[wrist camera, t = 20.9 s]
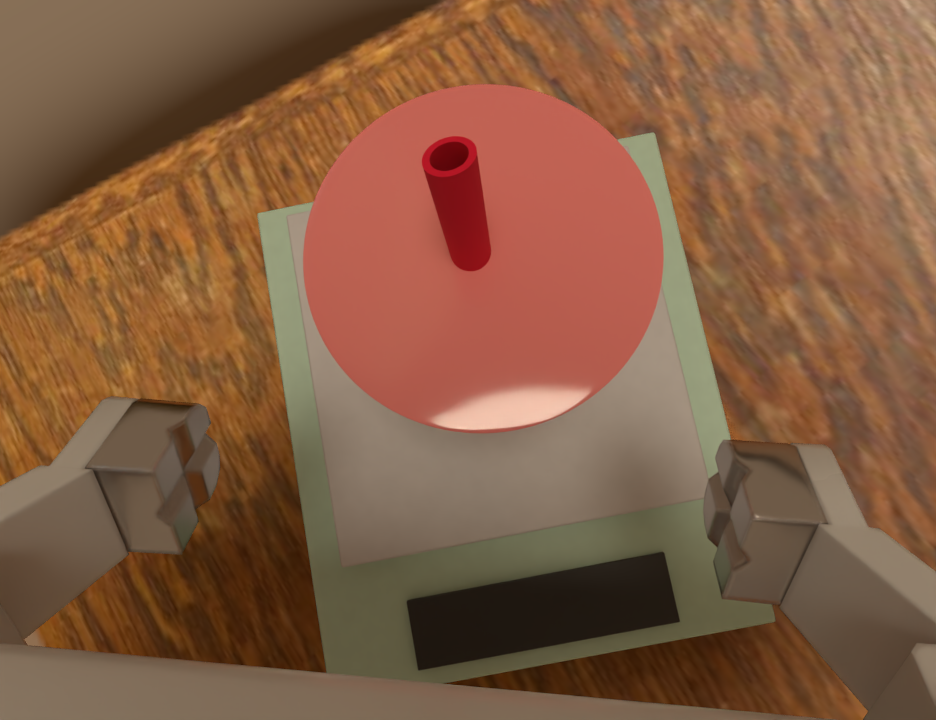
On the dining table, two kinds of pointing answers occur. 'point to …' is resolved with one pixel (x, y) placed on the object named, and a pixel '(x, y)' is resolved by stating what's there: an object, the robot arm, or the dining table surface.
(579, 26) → the dining table surface
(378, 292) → the cup
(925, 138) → the dining table surface
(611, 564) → the scale
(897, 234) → the dining table surface
